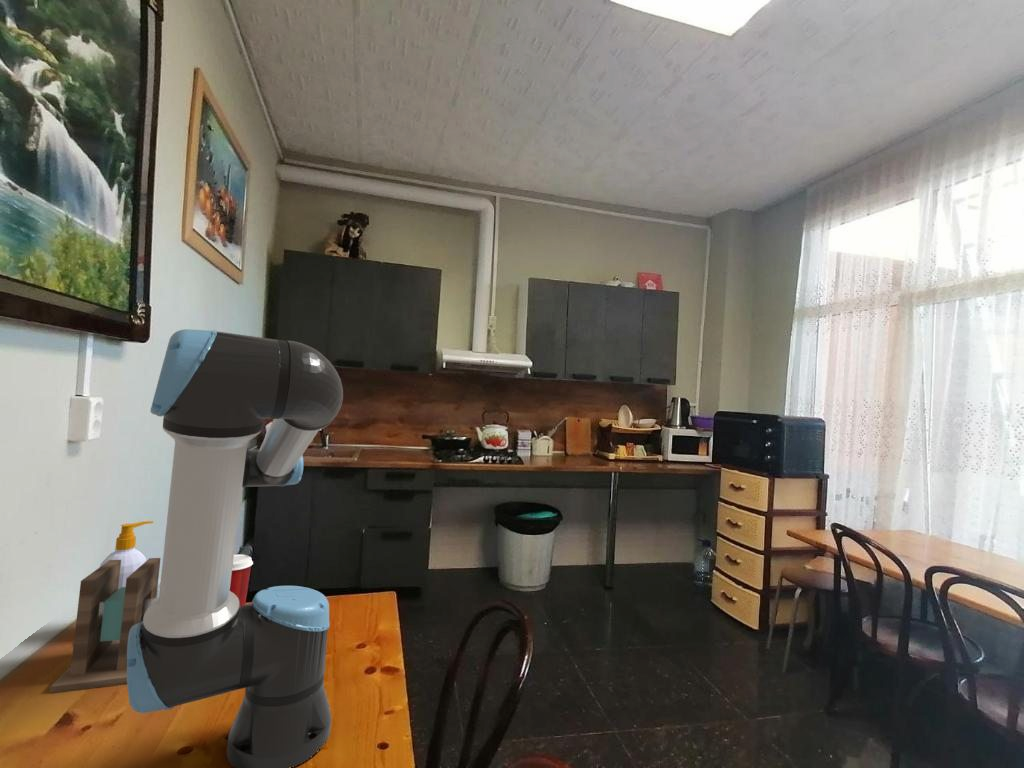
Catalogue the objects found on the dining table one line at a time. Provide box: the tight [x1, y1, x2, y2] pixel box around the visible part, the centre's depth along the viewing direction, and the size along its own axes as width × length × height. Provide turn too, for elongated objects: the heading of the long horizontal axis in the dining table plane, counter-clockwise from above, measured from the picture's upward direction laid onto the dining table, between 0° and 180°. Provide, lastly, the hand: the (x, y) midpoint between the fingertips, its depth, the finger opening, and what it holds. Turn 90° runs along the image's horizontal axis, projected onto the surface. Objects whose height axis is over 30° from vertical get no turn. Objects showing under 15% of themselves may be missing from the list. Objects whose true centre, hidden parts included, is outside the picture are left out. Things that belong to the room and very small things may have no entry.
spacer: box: [100, 587, 126, 642], centre depth 94 cm, size 8×4×8 cm, turn 21°
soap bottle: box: [99, 520, 154, 589], centre depth 107 cm, size 9×9×24 cm
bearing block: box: [49, 557, 161, 694], centre depth 95 cm, size 18×17×18 cm
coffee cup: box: [230, 554, 254, 606], centre depth 113 cm, size 8×8×15 cm
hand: (182, 620), depth 98 cm, fingers closed on shaft, 3 cm apart
